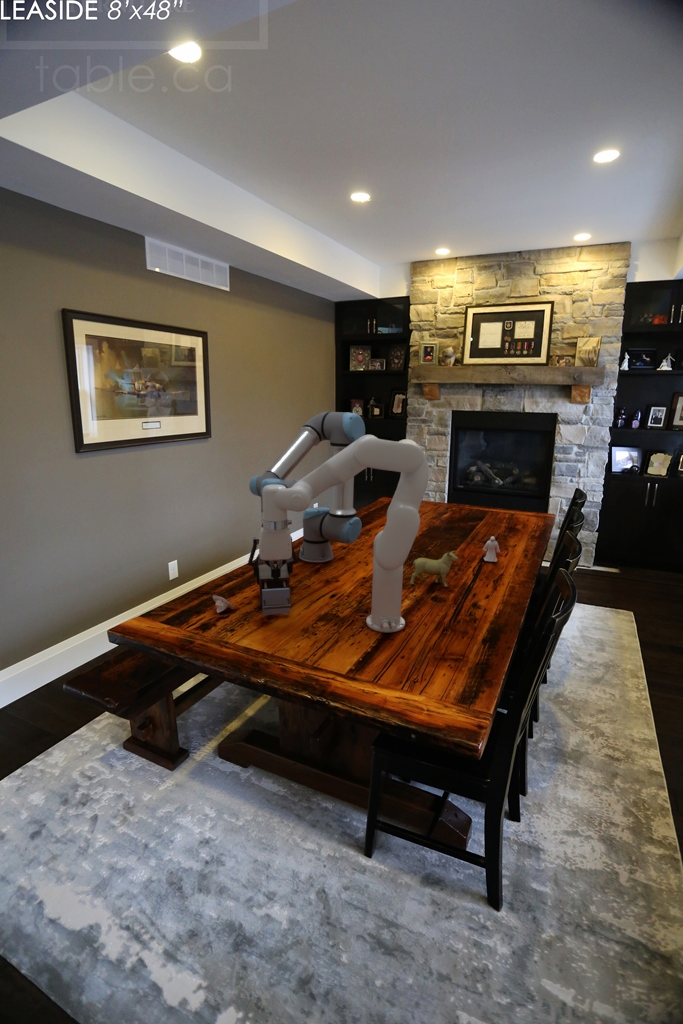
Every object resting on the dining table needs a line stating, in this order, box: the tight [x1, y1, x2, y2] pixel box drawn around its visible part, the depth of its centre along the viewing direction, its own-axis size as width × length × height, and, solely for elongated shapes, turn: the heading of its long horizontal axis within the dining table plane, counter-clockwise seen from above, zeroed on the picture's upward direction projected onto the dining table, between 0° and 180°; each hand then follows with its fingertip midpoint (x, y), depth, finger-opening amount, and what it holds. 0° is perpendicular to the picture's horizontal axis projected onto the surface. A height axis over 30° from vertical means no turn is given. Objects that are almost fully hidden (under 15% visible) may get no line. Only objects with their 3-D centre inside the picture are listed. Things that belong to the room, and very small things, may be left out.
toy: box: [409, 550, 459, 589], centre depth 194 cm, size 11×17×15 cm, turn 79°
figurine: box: [482, 535, 501, 563], centre depth 223 cm, size 8×8×12 cm
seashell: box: [212, 594, 235, 614], centre depth 169 cm, size 8×5×8 cm
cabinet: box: [258, 563, 290, 609], centre depth 179 cm, size 14×10×11 cm
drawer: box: [262, 580, 292, 616], centre depth 168 cm, size 18×9×9 cm, turn 11°
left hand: (273, 582), depth 181 cm, fingers closed on cabinet, 10 cm apart
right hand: (275, 579), depth 161 cm, fingers closed
